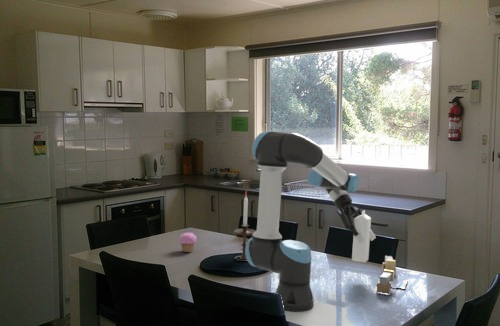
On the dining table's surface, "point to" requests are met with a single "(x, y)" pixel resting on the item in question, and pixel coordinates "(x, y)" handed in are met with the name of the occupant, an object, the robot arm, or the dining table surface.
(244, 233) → the candlestick
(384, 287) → the shaft rig
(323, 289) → the dining table surface
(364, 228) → the milk
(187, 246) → the cupcake
